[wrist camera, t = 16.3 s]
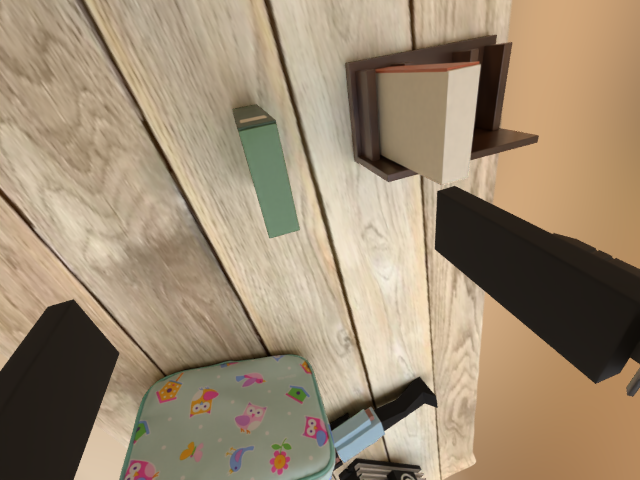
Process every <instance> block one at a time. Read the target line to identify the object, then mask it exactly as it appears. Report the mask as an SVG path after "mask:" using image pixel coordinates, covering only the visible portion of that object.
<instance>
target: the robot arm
mask: <svg viewBox="0 0 640 480" xmlns="http://www.w3.org/2000/svg"><path fill="white" fill-rule="evenodd" d="M435 250H436V251H438V252H439V253H440V254H441V255H442V256H444V257H445V258H446V259H447V260H448V261H450V262H451V263H452V264H453V265H454V266H455V267H457V268H458V269H459V270H460V271H461V272H463V273H464V274H465V275H466V276H467V277H469V278H470V279H471V280H472V281H473V282H475V283H476V284H477V285H478V286H479V287H481V288H482V289H483V290H484V291H485V292H487V293H488V294H489V295H490V296H491V297H492V298H494V299H495V300H496V301H497V302H498V303H500V304H501V305H502V306H503V307H504V308H506V309H507V310H508V311H509V312H510V313H512V314H513V315H514V316H515V317H516V318H518V319H519V320H520V321H521V322H522V323H523V324H525V325H526V326H527V327H528V328H529V329H531V330H532V331H533V332H534V333H535V334H537V335H538V336H539V337H540V338H541V339H543V340H544V341H545V342H546V343H547V344H549V345H550V346H551V347H552V348H553V349H555V350H556V351H557V352H558V353H559V354H561V355H562V356H563V357H564V358H565V359H566V360H568V361H569V362H570V363H571V364H573V365H574V366H575V367H576V368H577V369H578V370H580V371H581V372H582V373H583V374H584V375H586V376H587V377H588V378H589V379H590V380H592V381H593V382H594V383H595V384H596V383H599V382H601V381H603V380H605V379H607V378H610V377H612V376H614V375H616V374H619V373H620V372H621V370H622V369H623V367H624V366H625V364H626V363H627V361H628V359H629V358H632V359H633V360H635V361H636V362H637V363H639V364H640V269H638V268H636V267H634V266H632V265H630V264H627V263H625V262H623V261H621V260H619V259H617V258H615V259H613V258H612V256H611V255H609V254H607V253H604V252H602V251H600V250H599V251H597V250H596V248H594V247H592V246H590V245H587V244H585V243H583V242H581V241H579V240H577V239H574V238H570V237H567V236H563V235H559V234H555V233H554V234H551V233H549V232H547V231H545V230H543V229H541V228H539V227H537V226H535V225H533V224H531V223H529V222H527V221H525V220H523V219H521V218H519V217H517V216H515V215H513V214H511V213H509V212H507V211H505V210H503V209H500V208H499V207H497V206H495V205H492V204H490V203H488V202H486V201H484V200H482V199H480V198H478V197H476V196H474V195H472V194H470V193H468V192H466V191H464V190H462V189H460V188H458V187H456V186H453V187H450V188H446V189H443V190H439V191H437V212H436V233H435ZM118 356H119V352H118V351H117V350H116V349H115V347H114V346H113V345H112V344H111V343H110V341H109V340H108V339H107V338H106V337H105V336H104V334H103V333H102V332H101V331H100V330H99V328H98V327H97V326H96V325H95V324H94V323H93V321H92V320H91V319H90V318H89V317H88V316H87V314H86V313H85V312H84V311H83V310H82V308H81V307H80V306H79V305H78V304H77V303H76V301H75V300H74V299H73V300H70V301H66V302H63V303H59V304H56V305H53V306H49V307H47V309H46V310H45V311H44V313H43V314H42V315H41V317H40V318H39V320H38V321H37V322H36V324H35V325H34V326H33V328H32V329H31V330H30V332H29V333H28V334H27V336H26V337H25V338H24V340H23V341H22V343H21V344H20V345H19V347H18V348H17V349H16V351H15V352H14V353H13V355H12V356H11V357H10V359H9V360H8V362H7V363H6V364H5V366H4V367H3V368H2V370H1V371H0V480H74V477H75V474H76V471H77V469H78V466H79V463H80V460H81V458H82V455H83V452H84V449H85V447H86V444H87V441H88V438H89V436H90V433H91V430H92V427H93V425H94V422H95V419H96V416H97V414H98V411H99V408H100V405H101V403H102V400H103V397H104V394H105V392H106V389H107V386H108V383H109V381H110V378H111V375H112V372H113V370H114V367H115V364H116V361H117V359H118ZM639 388H640V368H639V370H638V371H637V373H636V374H635V375H634V377H633V378H632V380H631V381H630V383H629V384H628V386H627V388H626V389H627V395H629V396H632V397H633V396H634V395H635V393H636V392H637V391H638V389H639Z"/></svg>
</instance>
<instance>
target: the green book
mask: <svg viewBox="0 0 640 480" xmlns="http://www.w3.org/2000/svg"><path fill="white" fill-rule="evenodd" d="M232 110H233V114H234V118H235V122H236V125H237V129H238V132H239V135H240V138H241V142H242V145H243V149H244V152H245V156H246V159H247V163H248V166H249V169H250V173H251V176H252V180H253V183H254V187H255V190H256V194H257V197H258V201H259V204H260V207H261V211H262V214H263V218H264V221H265V225H266V228H267V232H268V235H269V238H273V237H277V236H280V235H284V234H288V233H291V232H295V231H298V230H300V228H299V223H298V219H297V214H296V210H295V205H294V201H293V196H292V192H291V187H290V183H289V178H288V174H287V169H286V165H285V160H284V156H283V151H282V147H281V142H280V138H279V133H278V129H277V124H276V120H275V119H273V118H272V117H271V116H270V115H269V114H267V113H266V112H265V111H264V110H263V109H262V108H260V107H259V106H258V105H257V104H256V105H251V106H246V107H241V108H236V109H232Z"/></svg>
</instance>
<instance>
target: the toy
mask: <svg viewBox="0 0 640 480" xmlns="http://www.w3.org/2000/svg"><path fill="white" fill-rule="evenodd" d="M423 404H428V405H431V406H434V407H437V399H436V396H435V394H434V393H433V392H432V391H431V390H430V389H429V387H428V386H427V385H426V384H425V383H424V382H423V381H422V379H421V378H420V377H419V378H417V379H416V380H414V381H413V382H412V383H411V384H410V385H409V387H408V388H407V389H406V390H405V391H404V392H403V393H402V394H401V395H400V396H399V398H397V399H396V400H394V401H392V402H390V403H388V404H386V405H383V406H381V407H379V408H377V409H375V410H373V409H372V407H369V408H368V409H366V410H365V411H364V409H362V410H361V411H360V412H358V413H357V414H356V415H354V416H353V417H352V418H350V417H349V415H348V413H346V414H345V415H343V416H342V417H340V418H339V419H337V420H336V421H334V422H333V423H331V424H330V428H331V432H332V436H333V439H334V445H335V466H334V469H333V471H334V470H336V469H337V468H338V467H340V466H341V465H343V463H345V462H346V461H348V460H349V459H351V458H352V457H354V456H355V455H357V454H358V453H360V452H361V451H362V450H364V449H365V448H367V447H368V446H370V445H371V444H373V443H375V442H376V441H378V439H379V438H380V437H382V436H383V435H384V434H385V432H384V431H385V430H387V429H388V428H390V427H391V426H393V425H394V424H396V423H397V422H398V421H400V420H401V419H403V418H404V417H406V416H407V415H409V414H410V413H412V412H413V411H414V410H416V409H417V408H419V407H420V406H422V405H423ZM437 408H438V407H437ZM338 454H339V456H340V457H341V459H342V461H343V463H342V461H341V459H339V456H338Z"/></svg>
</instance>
